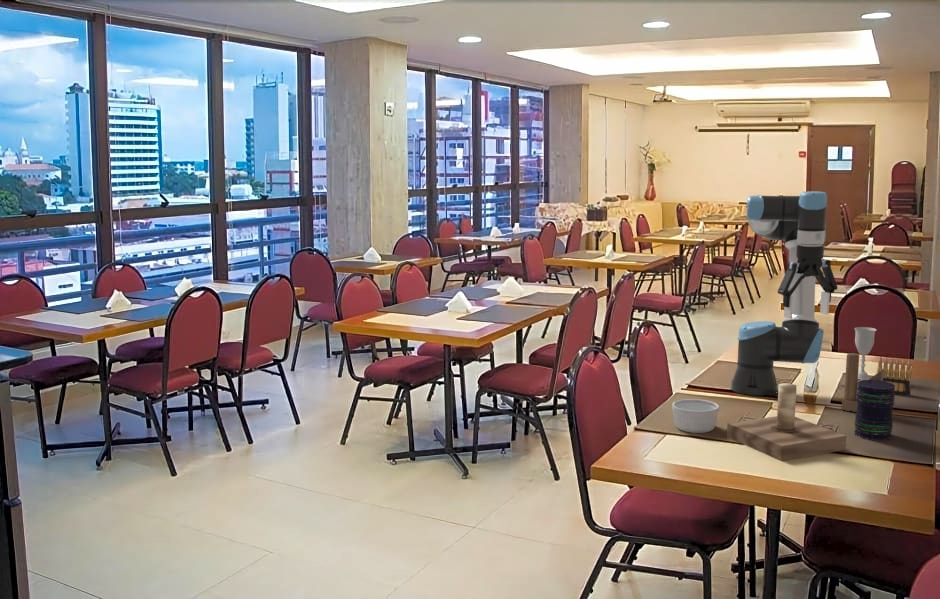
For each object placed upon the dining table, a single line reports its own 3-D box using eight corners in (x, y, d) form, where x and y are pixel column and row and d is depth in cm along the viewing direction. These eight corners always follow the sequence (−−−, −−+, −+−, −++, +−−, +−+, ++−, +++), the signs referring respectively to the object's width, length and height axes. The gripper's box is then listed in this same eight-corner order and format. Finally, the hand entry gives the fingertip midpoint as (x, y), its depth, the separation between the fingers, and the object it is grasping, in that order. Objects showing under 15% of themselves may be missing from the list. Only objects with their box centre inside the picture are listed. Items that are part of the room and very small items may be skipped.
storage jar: (899, 439, 253) (903, 387, 250) (867, 441, 251) (870, 389, 249) (877, 429, 262) (881, 379, 260) (846, 431, 261) (850, 380, 259)
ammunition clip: (874, 391, 304) (877, 356, 302) (875, 390, 306) (878, 355, 304) (909, 396, 298) (912, 360, 296) (910, 394, 300) (913, 359, 298)
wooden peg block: (878, 416, 275) (882, 358, 272) (841, 410, 282) (844, 354, 279) (881, 413, 278) (884, 356, 275) (844, 408, 284) (847, 352, 282)
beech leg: (771, 440, 251) (774, 384, 249) (785, 438, 253) (788, 382, 250) (783, 445, 247) (786, 388, 244) (797, 443, 249) (800, 386, 246)
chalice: (874, 377, 322) (878, 328, 319) (871, 381, 317) (874, 331, 314) (852, 375, 326) (855, 326, 323) (849, 379, 321) (852, 329, 318)
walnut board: (726, 436, 256) (727, 423, 255) (788, 427, 264) (789, 414, 264) (780, 460, 236) (781, 445, 235) (845, 450, 244) (846, 435, 243)
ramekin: (689, 436, 256) (690, 413, 255) (662, 424, 268) (663, 401, 267) (727, 431, 262) (728, 407, 260) (698, 419, 273) (699, 396, 272)
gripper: (785, 248, 256) (781, 321, 260) (853, 243, 265) (848, 314, 269) (767, 245, 263) (763, 317, 267) (834, 240, 272) (829, 309, 276)
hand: (806, 315), depth 268 cm, fingers open, 13 cm apart
